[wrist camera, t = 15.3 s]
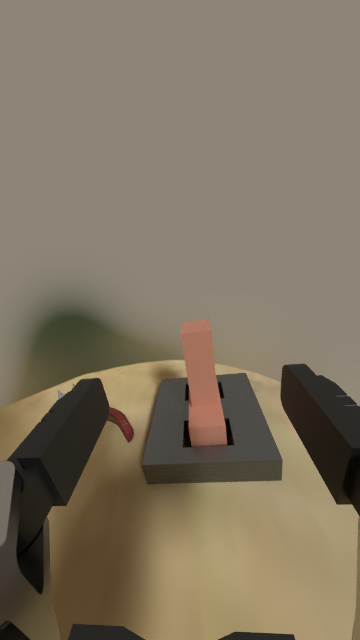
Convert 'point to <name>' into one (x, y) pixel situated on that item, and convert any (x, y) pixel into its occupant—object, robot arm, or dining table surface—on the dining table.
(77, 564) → the dining table surface
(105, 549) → the dining table surface
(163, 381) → the grey socket board
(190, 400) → the pink tall block
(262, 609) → the dining table surface
